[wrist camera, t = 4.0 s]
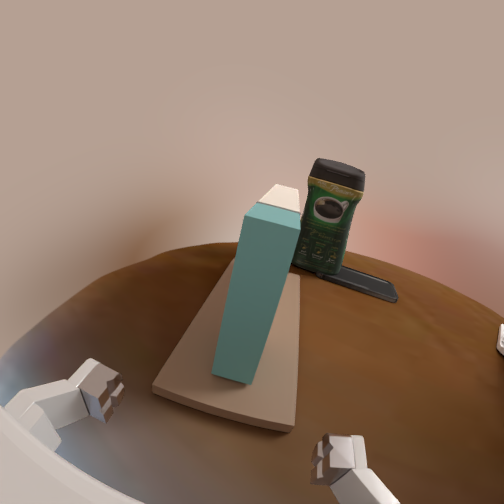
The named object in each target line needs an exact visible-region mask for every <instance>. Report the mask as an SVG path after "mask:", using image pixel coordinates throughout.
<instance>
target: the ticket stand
mask: <svg viewBox="0 0 504 504" xmlns="http://www.w3.org/2000/svg"><path fill="white" fill-rule="evenodd" d="M259 202H260V203H264V204H268V205H272V206H276V207H280V208H284V209H287V210H291V211H295V212H299V213H300V208H299V193H298V189H294V188H290V187H286V186H282V185H278V184H276V185H275V186H274V187H273V188H272V189H271V190H269V191H268V192H267V193H266V194H265V195H264V196H263V197H262V198H261V199H260V200H259ZM234 261H235V258H233V260H232V261H231V263H230V264H229V266H228V267H227V269H226V270H225V272H224V273H223V275H222V276H221V278H220V280H219V281H218V283H217V284H216V286H215V287H214V289H213V290H212V292H211V293H210V295H209V296H208V298H207V299H206V301H205V302H204V304H203V305H202V307H201V309H200V310H199V312H198V313H197V315H196V316H195V318H194V319H193V321H192V322H191V324H190V326H189V327H188V329H187V330H186V332H185V333H184V335H183V336H182V338H181V339H180V341H179V343H178V344H177V346H176V347H175V349H174V350H173V352H172V353H171V355H170V357H169V358H168V360H167V361H166V363H165V364H164V366H163V368H162V369H161V371H160V372H159V374H158V375H157V377H156V379H155V380H154V382H153V383H152V393H154V394H157V395H159V396H162V397H164V398H167V399H169V400H172V401H175V402H177V403H180V404H183V405H186V406H188V407H191V408H194V409H197V410H200V411H203V412H206V413H210V414H213V415H216V416H220V417H223V418H227V419H230V420H234V421H238V422H241V423H245V424H249V425H254V426H258V427H262V428H267V429H272V430H277V431H282V432H288V433H290V432H291V430H292V429H293V427H294V424H295V410H296V394H297V375H298V351H299V309H300V275H296V274H292V273H289V272H288V275H287V278H286V281H285V285H284V288H283V291H282V294H281V297H280V301H279V304H278V307H277V310H276V313H275V316H274V320H273V323H272V326H271V329H270V332H269V335H268V338H267V341H266V344H265V347H264V350H263V353H262V356H261V359H260V362H259V364H258V367H257V370H256V373H255V376H254V379H253V382H252V384H251V385H249V384H245V383H242V382H238V381H235V380H231V379H228V378H224V377H221V376H218V375H214V374H211V372H212V367H213V362H214V357H215V352H216V347H217V342H218V337H219V333H220V328H221V323H222V318H223V313H224V308H225V303H226V299H227V294H228V289H229V284H230V280H231V275H232V270H233V266H234Z"/></svg>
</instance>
